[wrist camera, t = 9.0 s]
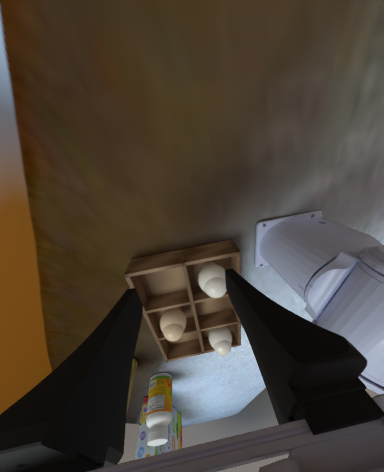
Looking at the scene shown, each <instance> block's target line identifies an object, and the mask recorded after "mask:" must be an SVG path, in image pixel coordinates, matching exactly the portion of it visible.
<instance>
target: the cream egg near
mask: <svg viewBox="0 0 384 472" xmlns="http://www.w3.org/2000/svg"><path fill="white" fill-rule="evenodd" d="M198 283H199V286H200V288H201V289H202V290H203V291H204V292H205V293H206V294H207V295H208V296H210V297H212V298H220V297H222V296H223V295H224V294H225V293H226V292H227V290H226V281H225V269H224V268H223V267H222V266H220V265H218V264H216V263H215V262H212V261H210V262H206V263H204V264H203V265H202V267H201V270H200V272H199V275H198Z"/></svg>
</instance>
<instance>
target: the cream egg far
mask: <svg viewBox="0 0 384 472" xmlns="http://www.w3.org/2000/svg"><path fill="white" fill-rule="evenodd" d="M209 342H210V344H211V346H212V347H213V348H214V350H215V351H216V353H217V354H219V355H221V356H225V355H227V354H228V353H229V352H230V350H231V343H232V335H231V332H230V330H229V329H228V328H227V327H226V326H224V327H219V328H215V329H210V331H209Z"/></svg>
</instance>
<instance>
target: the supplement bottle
mask: <svg viewBox="0 0 384 472" xmlns="http://www.w3.org/2000/svg"><path fill="white" fill-rule="evenodd" d="M171 419H172V376H171V374H169V373H165V372H162V373H157V374H155V375H153V376H152V377H151V380H150V388H149V397H148V406H147V415H146V424H147V426H148V427H149V428H150V431H149V432H148V440H147V445H148V446H159V445H163V444H165V443H167V442H168V428H167V426H168V425H169V424H170V422H171Z"/></svg>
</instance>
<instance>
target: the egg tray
mask: <svg viewBox="0 0 384 472" xmlns="http://www.w3.org/2000/svg"><path fill="white" fill-rule="evenodd" d="M210 261H212V262H215V263H216V264H218V265H220V266H222V267H223V268H224V269H225V270H226V269H231V268H233V269H234V270H235V271H236V272H237V273H238V274H239V275H240V251H239V249H238V248H237V247H236V245H235V244H234V243H233V242H232V240H227V241H222V242H217V243H212V244H206V245H201V246H196V247H191V248H186V249H181V250H176V251H171V252H165V253H160V254H155V255H150V256H145V257H140V258H135V259H131V261H130V263H129V265H128V267H127V270H126V272H125V274H124V275H125V277H126V280H127V282H128V284H129V286H130V288H131V289H132V288H135V289H136V291H137V293H138V295H139V298H140V300H141V302H142V304H143V312H142V313H143V315H144V317H145V319H146V321H147V323H148V325H149V328H150V330H151V332H152V334H153V336H154V338H155V340H156V342H157V344H158V346H159V348H160V350H161V353H162V355H163V357H164V359H165V361H166V362H167V361H172V360H176V359H181V358H185V357H190V356H195V355H199V354H204V353H208V352H213V351H215V350H214V348H213V347H212V346H211V344H210V342H209V331H210V329H215V328H219V327H224V326H226V327H227V328H228V329H229V330H230V332H231V335H232V343H231V347H235V346H240V345H241V322H240V319H239V317H238V315H237V313H236V311H235V309H234V307H233V305H232V303H231V301H230V298H229V295H228V293H227V292H226V293H225V294H224V295H223V296H222V297H220V298H212V297H210V296H208V295H207V294H206V293H205V292H204V291H203V290H202V289H201V288H200V286H199V283H198V275H199V272H200V270H201V267H202V265H203V264H204V263H206V262H210ZM175 307H181V310H183V312H184V313H185V315H186V319H187V323H186V327H185V330H184V332H183V335H182V336H181V338H180V339H179V340H177V341H174V342H171V341H168V340H167V339H166V338H165V337H164V335H163V332H162V331H161V328H160V319H161V316H162V314H163V312H164V311H165V310H166V309H171V308H175Z"/></svg>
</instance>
